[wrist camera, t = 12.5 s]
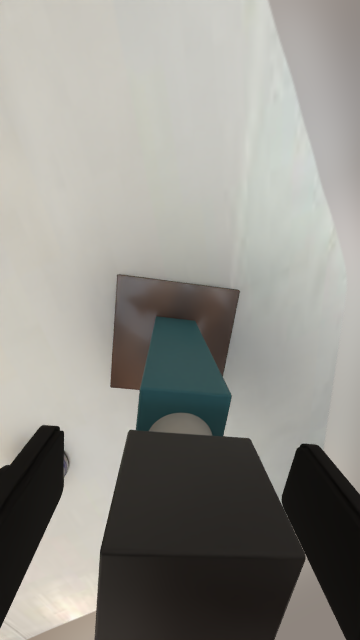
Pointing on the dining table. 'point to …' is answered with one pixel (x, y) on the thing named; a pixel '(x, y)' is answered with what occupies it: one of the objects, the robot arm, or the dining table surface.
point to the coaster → (171, 302)
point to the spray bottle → (192, 513)
